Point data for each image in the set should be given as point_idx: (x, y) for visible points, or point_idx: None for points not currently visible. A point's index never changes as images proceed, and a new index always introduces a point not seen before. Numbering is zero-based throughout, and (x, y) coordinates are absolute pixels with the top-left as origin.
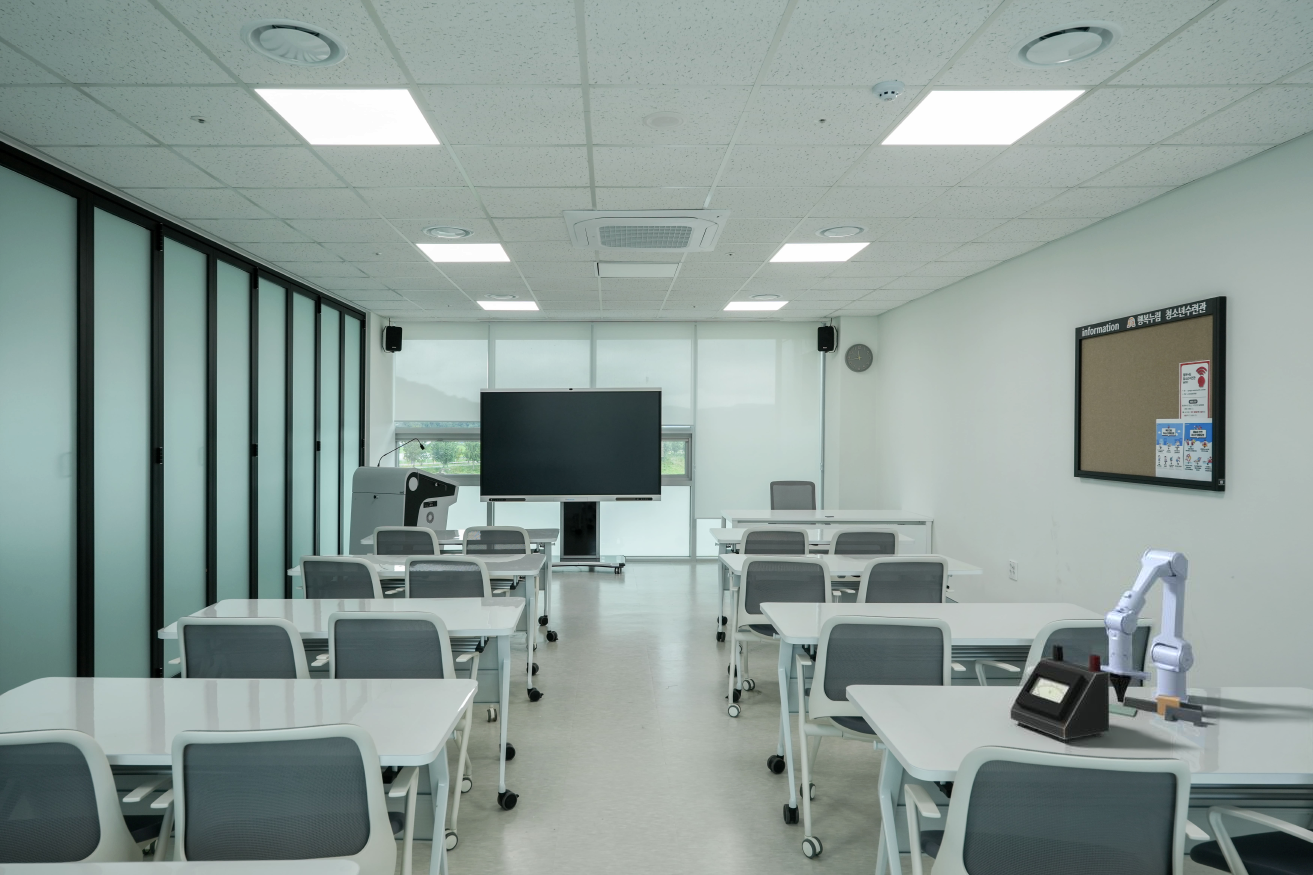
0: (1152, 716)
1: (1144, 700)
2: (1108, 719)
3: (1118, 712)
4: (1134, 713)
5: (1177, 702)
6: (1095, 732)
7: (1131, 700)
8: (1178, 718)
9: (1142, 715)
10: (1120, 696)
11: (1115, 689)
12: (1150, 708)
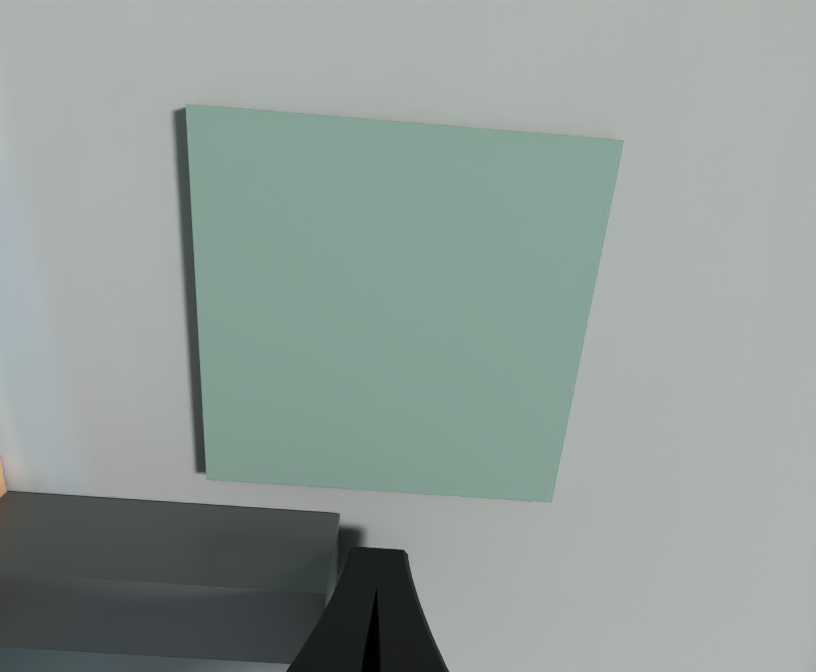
0: (10, 296)
1: (94, 618)
2: None
3: (381, 137)
4: (196, 249)
5: None
6: None
7: (245, 573)
8: None
9: (113, 265)
10: (370, 591)
11: (437, 669)
12: (59, 516)
